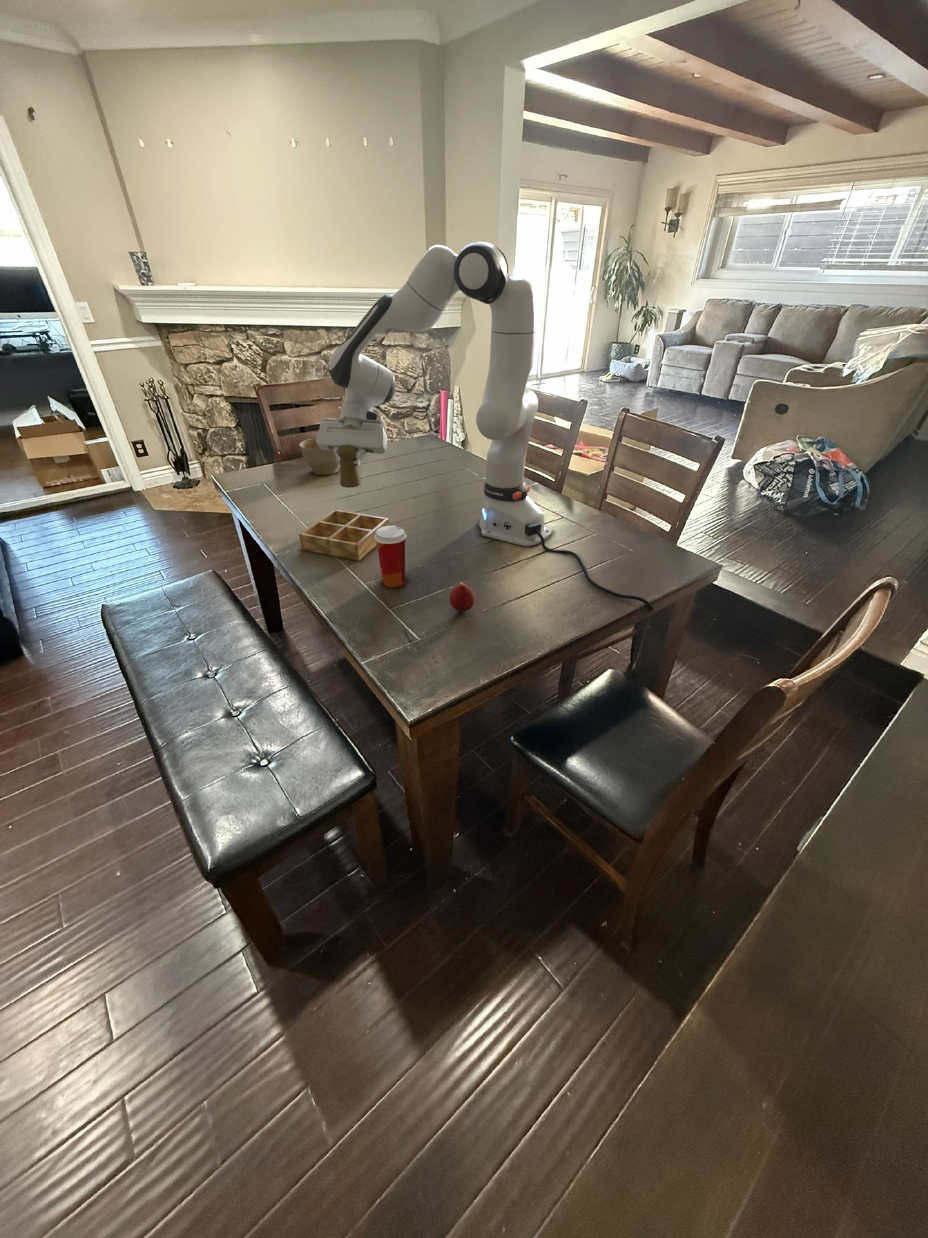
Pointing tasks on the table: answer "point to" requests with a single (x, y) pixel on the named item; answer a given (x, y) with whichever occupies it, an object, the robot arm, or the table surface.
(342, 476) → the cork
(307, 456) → the planter bowl
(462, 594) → the onion
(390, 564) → the paper cup
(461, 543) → the table surface
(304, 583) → the table surface
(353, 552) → the wooden compartment tray
